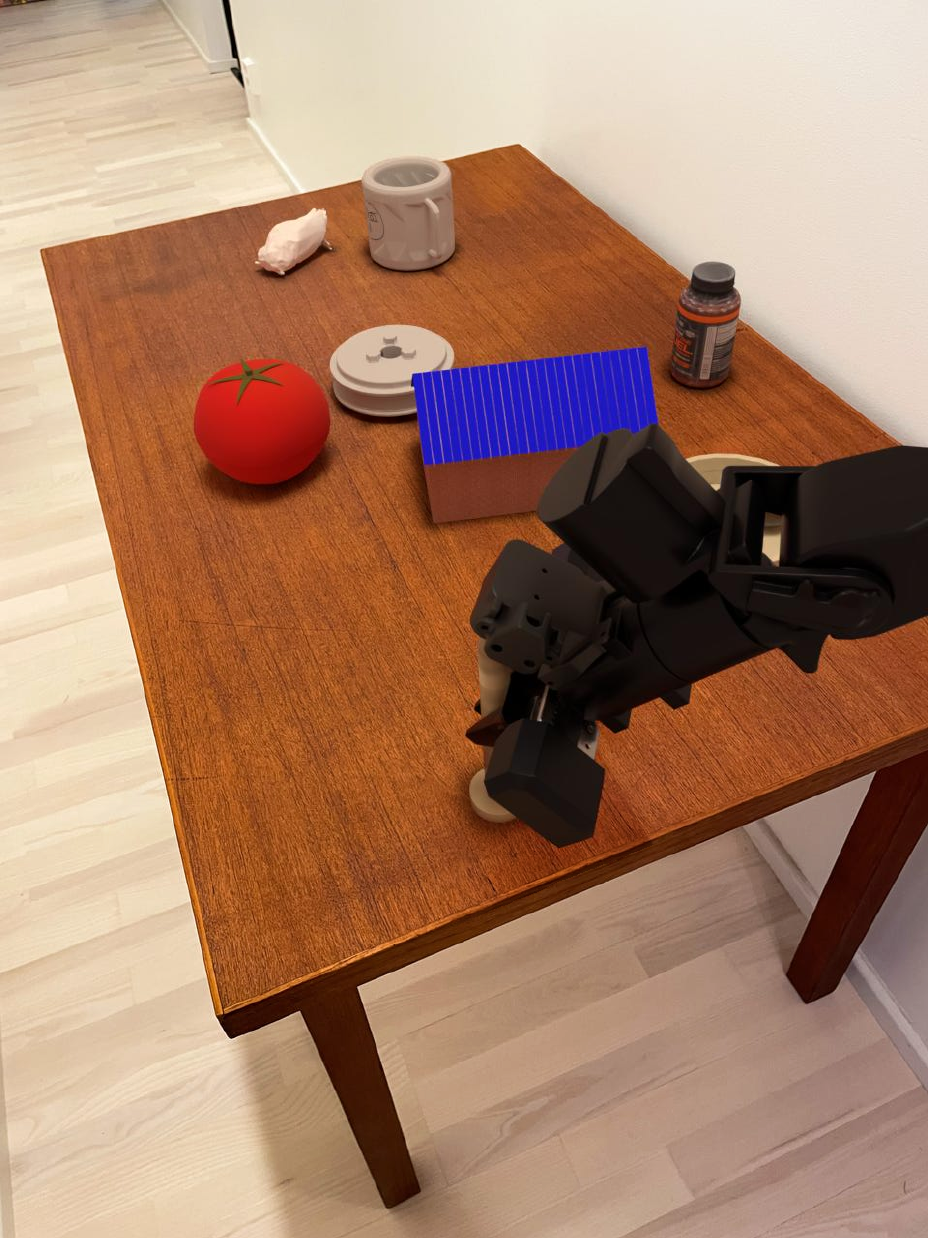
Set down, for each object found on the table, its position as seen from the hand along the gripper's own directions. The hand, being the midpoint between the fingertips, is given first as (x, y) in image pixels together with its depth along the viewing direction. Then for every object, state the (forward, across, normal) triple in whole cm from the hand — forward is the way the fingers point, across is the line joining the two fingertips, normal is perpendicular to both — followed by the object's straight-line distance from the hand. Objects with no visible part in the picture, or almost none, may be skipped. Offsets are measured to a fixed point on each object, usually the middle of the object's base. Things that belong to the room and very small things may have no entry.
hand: (474, 724), depth 59 cm
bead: (-9, -32, +16) cm, 36 cm away
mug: (+25, -75, -14) cm, 81 cm away
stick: (+4, 0, +6) cm, 8 cm away
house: (+8, -35, +3) cm, 36 cm away
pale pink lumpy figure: (+35, -72, -24) cm, 83 cm away
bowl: (-5, -30, +15) cm, 34 cm away
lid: (+20, -46, -9) cm, 51 cm away
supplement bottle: (-1, -55, +12) cm, 56 cm away
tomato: (+26, -31, -14) cm, 43 cm away
